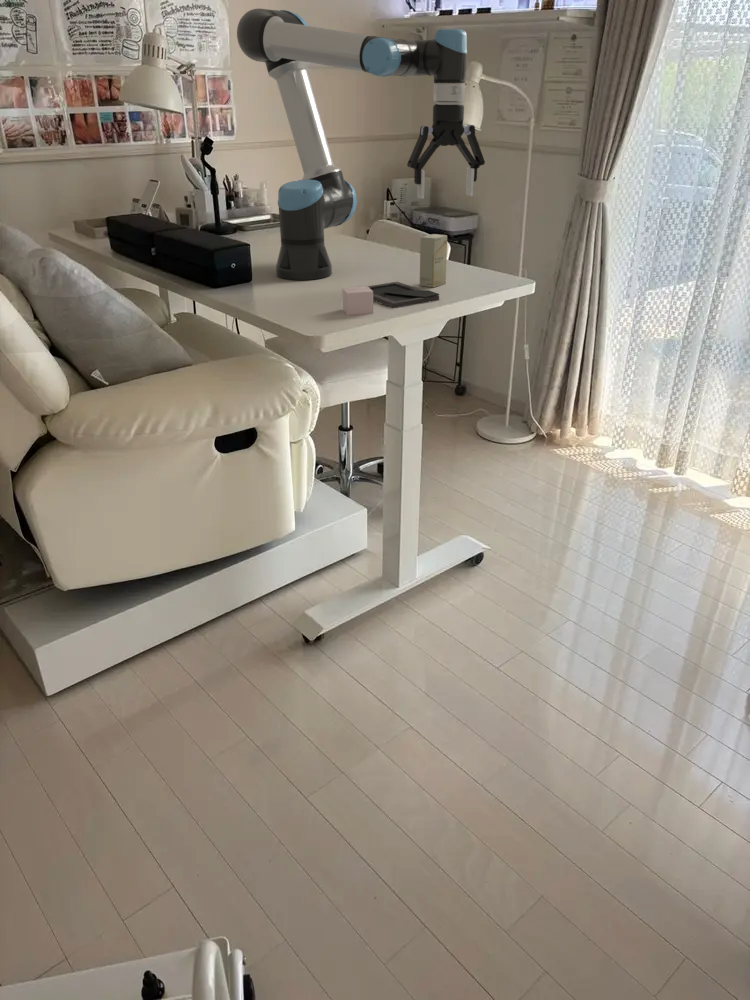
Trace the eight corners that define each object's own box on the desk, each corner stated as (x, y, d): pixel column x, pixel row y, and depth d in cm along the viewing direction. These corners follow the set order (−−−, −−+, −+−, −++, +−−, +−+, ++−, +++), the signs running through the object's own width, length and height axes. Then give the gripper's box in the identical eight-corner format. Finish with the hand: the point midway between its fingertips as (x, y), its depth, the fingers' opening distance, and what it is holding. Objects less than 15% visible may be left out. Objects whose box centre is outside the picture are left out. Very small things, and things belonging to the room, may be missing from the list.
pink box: (347, 315, 179) (347, 293, 176) (342, 309, 183) (342, 288, 180) (373, 313, 180) (373, 291, 178) (367, 308, 184) (367, 286, 182)
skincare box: (433, 288, 200) (434, 238, 195) (418, 285, 203) (419, 236, 197) (446, 283, 205) (448, 234, 199) (432, 281, 207) (433, 233, 202)
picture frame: (439, 302, 190) (396, 287, 204) (439, 293, 189) (397, 279, 203) (393, 310, 184) (353, 294, 197) (393, 301, 183) (352, 286, 196)
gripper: (407, 104, 184) (405, 201, 194) (501, 103, 191) (495, 196, 201) (395, 103, 190) (394, 197, 200) (487, 102, 197) (482, 192, 208)
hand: (445, 196), depth 201 cm, fingers open, 13 cm apart
